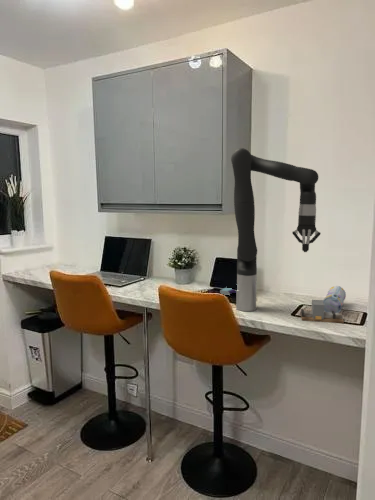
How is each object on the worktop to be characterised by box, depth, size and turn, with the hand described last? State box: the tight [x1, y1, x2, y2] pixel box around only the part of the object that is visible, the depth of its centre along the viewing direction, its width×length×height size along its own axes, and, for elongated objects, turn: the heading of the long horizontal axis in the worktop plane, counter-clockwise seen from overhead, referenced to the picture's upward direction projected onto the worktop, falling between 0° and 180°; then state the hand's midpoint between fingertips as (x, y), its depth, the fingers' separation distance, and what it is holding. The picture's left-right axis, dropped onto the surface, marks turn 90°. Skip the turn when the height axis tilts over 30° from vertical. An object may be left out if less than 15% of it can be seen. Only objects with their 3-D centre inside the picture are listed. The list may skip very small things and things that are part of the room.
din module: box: [311, 299, 325, 320], centre depth 160 cm, size 4×9×6 cm, turn 165°
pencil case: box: [322, 285, 347, 313], centre depth 174 cm, size 21×9×10 cm, turn 151°
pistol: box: [219, 287, 236, 296], centre depth 203 cm, size 4×16×15 cm
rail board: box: [300, 308, 345, 324], centre depth 160 cm, size 17×9×3 cm, turn 76°
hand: (305, 251), depth 168 cm, fingers closed
